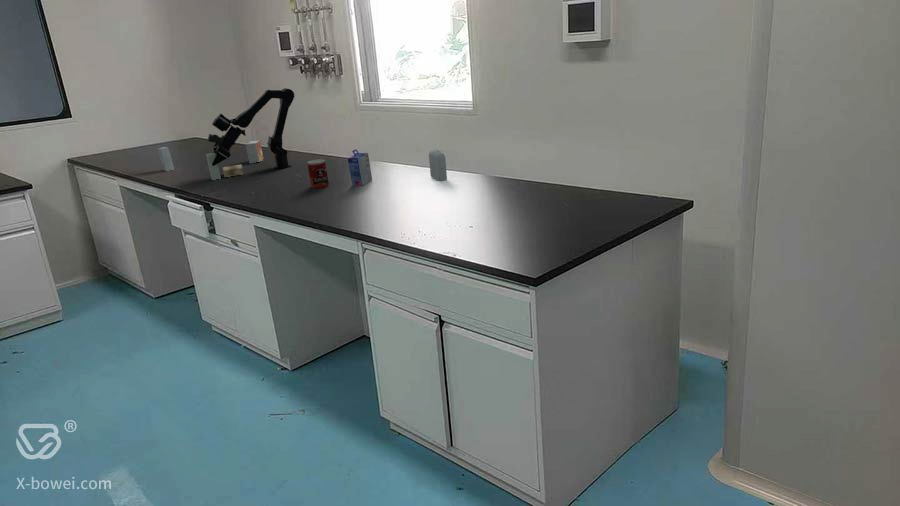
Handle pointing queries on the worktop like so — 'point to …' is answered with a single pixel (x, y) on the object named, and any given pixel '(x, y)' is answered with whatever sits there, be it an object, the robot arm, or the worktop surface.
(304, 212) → the worktop surface
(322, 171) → the canned food
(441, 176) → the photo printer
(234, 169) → the oak block
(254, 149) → the small box
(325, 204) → the worktop surface
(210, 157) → the sage post
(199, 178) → the worktop surface
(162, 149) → the skincare box
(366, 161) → the ink cartridge box
